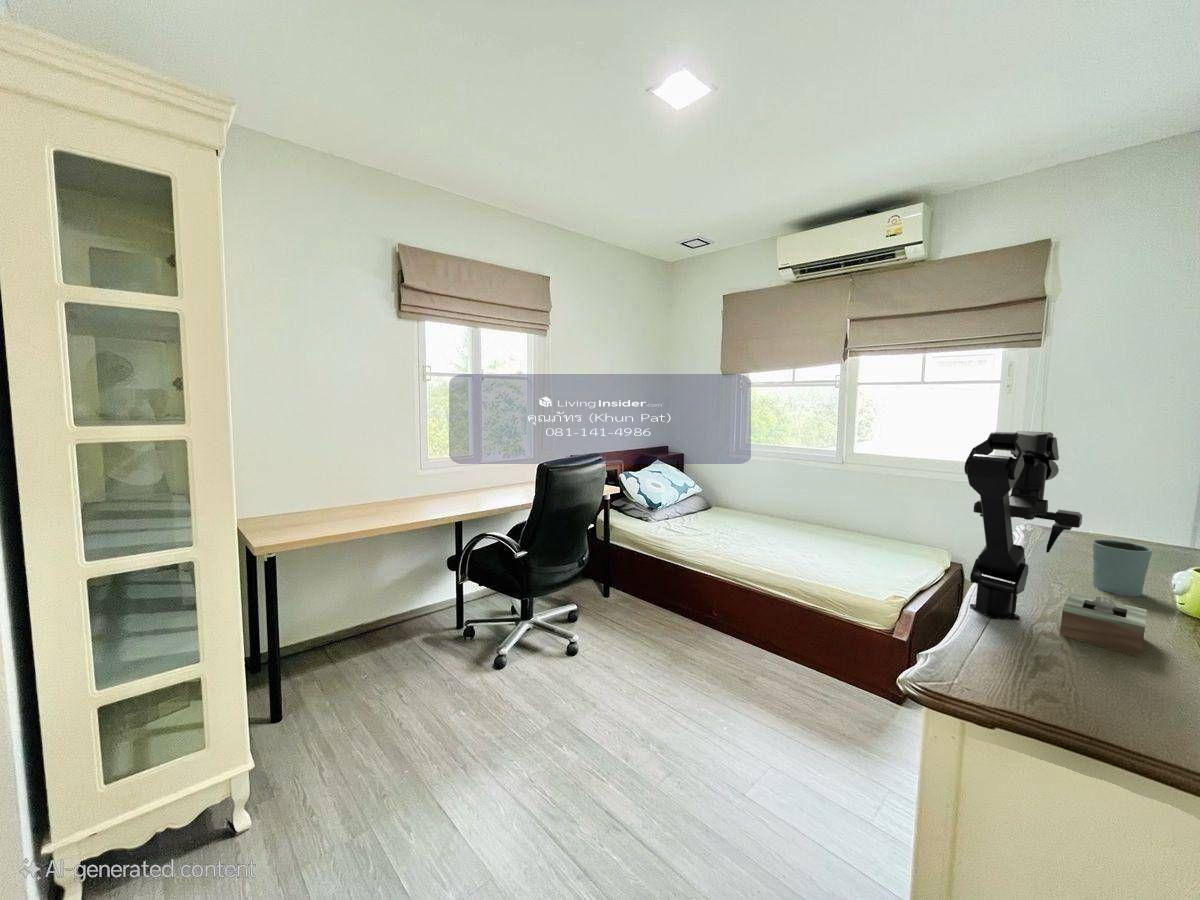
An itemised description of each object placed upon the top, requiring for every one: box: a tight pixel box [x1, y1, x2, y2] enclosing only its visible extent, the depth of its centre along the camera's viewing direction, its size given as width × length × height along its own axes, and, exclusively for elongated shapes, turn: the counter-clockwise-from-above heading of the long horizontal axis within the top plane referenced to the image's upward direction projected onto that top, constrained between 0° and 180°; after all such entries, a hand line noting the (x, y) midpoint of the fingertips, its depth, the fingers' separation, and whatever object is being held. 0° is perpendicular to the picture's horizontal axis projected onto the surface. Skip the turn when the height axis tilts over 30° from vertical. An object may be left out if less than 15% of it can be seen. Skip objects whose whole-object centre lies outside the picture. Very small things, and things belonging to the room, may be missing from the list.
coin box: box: [1059, 592, 1147, 658], centre depth 95 cm, size 12×11×6 cm
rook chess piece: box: [1093, 595, 1116, 614], centre depth 95 cm, size 4×4×8 cm
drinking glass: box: [1092, 539, 1153, 597], centre depth 120 cm, size 10×10×12 cm
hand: (1021, 547), depth 112 cm, fingers open, 9 cm apart
